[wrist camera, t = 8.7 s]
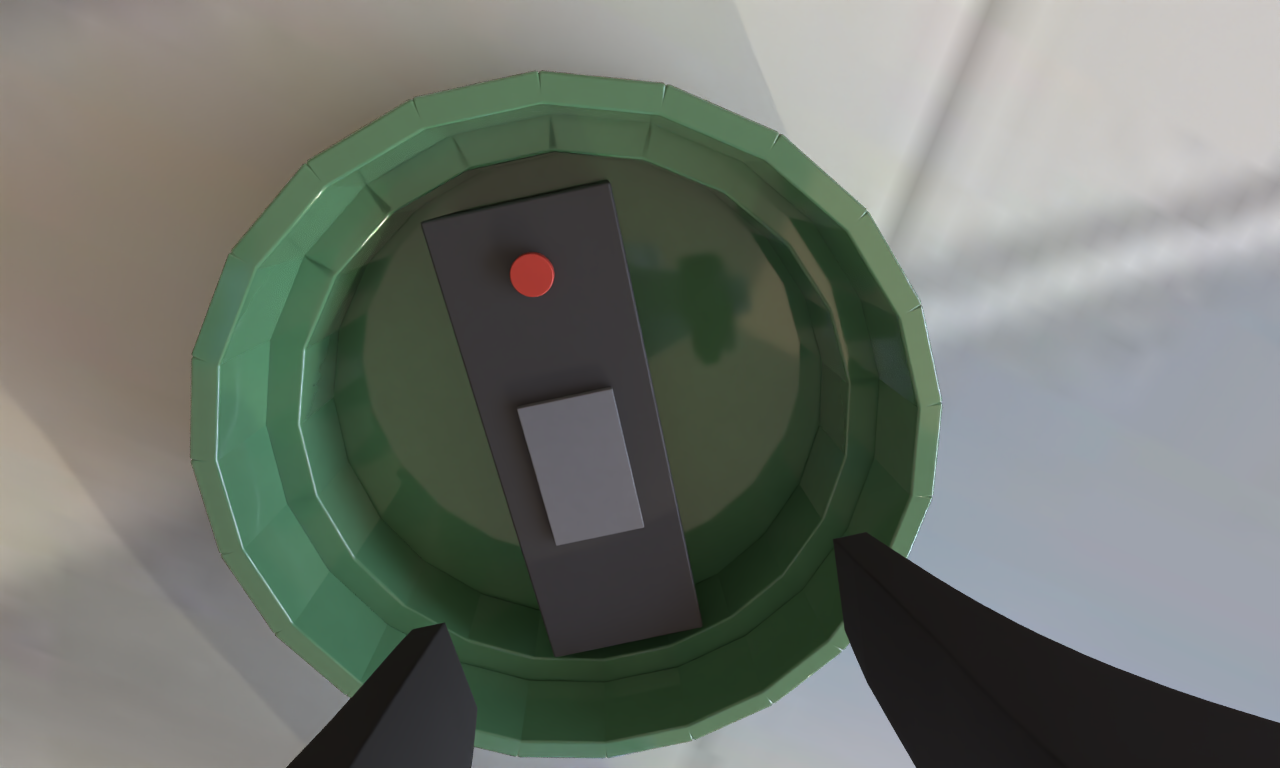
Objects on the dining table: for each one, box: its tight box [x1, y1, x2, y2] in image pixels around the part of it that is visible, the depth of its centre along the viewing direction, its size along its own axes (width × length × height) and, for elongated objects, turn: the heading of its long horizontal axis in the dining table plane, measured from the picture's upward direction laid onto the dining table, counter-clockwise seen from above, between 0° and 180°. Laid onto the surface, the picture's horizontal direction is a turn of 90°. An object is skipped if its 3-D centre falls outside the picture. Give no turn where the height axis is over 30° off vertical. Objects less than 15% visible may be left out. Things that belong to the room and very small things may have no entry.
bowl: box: [190, 70, 942, 758], centre depth 17 cm, size 17×17×5 cm
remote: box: [421, 180, 703, 657], centre depth 18 cm, size 12×4×3 cm, turn 12°
